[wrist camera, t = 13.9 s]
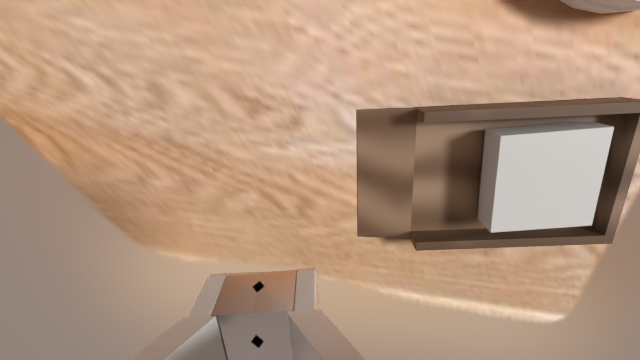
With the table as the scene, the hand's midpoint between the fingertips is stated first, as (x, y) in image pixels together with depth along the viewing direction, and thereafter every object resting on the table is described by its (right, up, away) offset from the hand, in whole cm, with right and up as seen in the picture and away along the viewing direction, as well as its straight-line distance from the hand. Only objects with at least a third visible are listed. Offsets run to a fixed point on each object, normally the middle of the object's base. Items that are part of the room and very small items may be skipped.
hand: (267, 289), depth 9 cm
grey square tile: (+23, +4, +25) cm, 35 cm away
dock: (+20, +4, +27) cm, 33 cm away
